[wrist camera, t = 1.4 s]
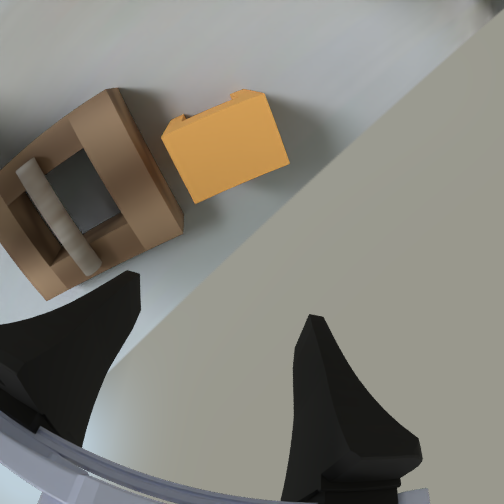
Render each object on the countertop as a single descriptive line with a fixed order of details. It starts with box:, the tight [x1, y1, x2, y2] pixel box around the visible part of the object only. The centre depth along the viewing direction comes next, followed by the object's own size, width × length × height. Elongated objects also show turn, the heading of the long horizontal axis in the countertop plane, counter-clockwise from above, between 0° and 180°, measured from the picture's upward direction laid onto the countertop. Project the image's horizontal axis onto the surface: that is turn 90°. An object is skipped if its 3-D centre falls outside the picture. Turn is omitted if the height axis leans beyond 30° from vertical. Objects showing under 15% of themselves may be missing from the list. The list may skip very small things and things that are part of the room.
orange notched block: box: [161, 89, 290, 204], centre depth 17 cm, size 4×5×6 cm
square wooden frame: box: [0, 88, 184, 301], centre depth 18 cm, size 11×14×5 cm
